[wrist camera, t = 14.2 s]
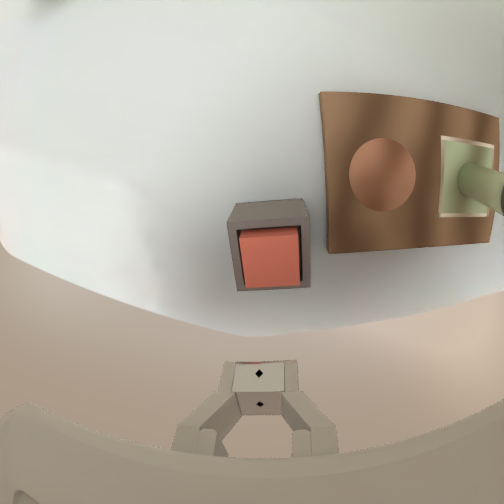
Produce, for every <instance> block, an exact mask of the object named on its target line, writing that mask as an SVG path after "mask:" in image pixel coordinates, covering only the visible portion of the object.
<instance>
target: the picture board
mask: <svg viewBox="0 0 504 504" xmlns="http://www.w3.org/2000/svg"><path fill="white" fill-rule="evenodd" d="M319 100H320V109H321V120H322V131H323V144H324V160H325V179H326V211H327V250H328V253H329V254H336V253H351V252H366V251H380V250H394V249H408V248H422V247H435V246H449V245H462V244H475V243H487V242H489V240H490V235H491V230H492V224H493V218H494V212H495V211H494V210H492V209H491V208H489V207H487V206H485V205H483V204H481V203H479V202H477V201H475V200H473V199H471V198H469V197H467V196H465V195H463V194H462V193H461V192H460V190H459V187H458V182H457V178H458V173H459V170H460V168H461V167H462V166H463V165H464V164H465V163H473V164H477V165H480V166H483V167H487V168H490V169H493V170H496V171H499V118H497V117H494V116H491V115H488V114H484V113H481V112H477V111H474V110H470V109H466V108H462V107H458V106H453V105H449V104H444V103H439V102H434V101H428V100H422V99H416V98H409V97H402V96H394V95H384V94H372V93H357V92H320V93H319Z"/></svg>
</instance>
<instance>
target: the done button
mask: <svg viewBox="0 0 504 504" xmlns="http://www.w3.org/2000/svg"><path fill="white" fill-rule="evenodd" d="M239 242H240V249H241V256H242V264H243V271H244V278H245V285H246V288H259V287H278V286H294V285H300V273H299V245H298V232H297V227H296V226H295V227H280V228H265V229H251V230H242V231H241V234H240V237H239Z"/></svg>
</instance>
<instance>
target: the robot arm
mask: <svg viewBox="0 0 504 504" xmlns="http://www.w3.org/2000/svg"><path fill="white" fill-rule="evenodd" d="M284 365H285V366H284ZM242 415H282V416H283V418H284V419H285V421H286V422H287V423H288V425H289V426H290V428H291V429H292V430H293V433H292V453H291V458H236V457H228V453H227V451H226V449H225V447H224V445H223V443H222V440H223V439H224V438H225V436H226V435H227V434H228V433H229V432H230V430H231V429H232V428H233V427H234V426H235V424H236V423H237V422H238V421H239V419H240V418H241V417H242ZM0 504H504V399H502V400H501V401H499V402H497V403H495V404H493V405H491V406H490V407H487V408H485V409H484V410H481V411H479V412H477V413H475V414H473V415H471V416H469V417H466V418H464V419H462V420H459V421H457V422H454V423H452V424H449V425H447V426H444V427H442V428H439V429H436V430H433V431H430V432H427V433H424V434H421V435H418V436H415V437H412V438H408V439H405V440H401V441H398V442H393V443H390V444H385V445H382V446H377V447H372V448H367V449H362V450H356V451H350V452H344V453H339V448H338V440H337V431H336V426H335V424H334V423H333V422H332V421H331V420H330V419H329V418H328V417H327V416H326V415H325V414H324V413H323V412H322V411H321V410H320V409H319V408H318V407H317V406H316V405H315V404H314V402H312V401H311V399H310V398H309V397H308V396H307V395H306V394H305V393H304V392H303V391H299V382H298V366H297V360H285V361H264V362H225V363H224V365H223V369H222V374H221V379H220V384H219V389H218V392H214V393H212V394H211V395H210V396H209V397H208V398H207V399H206V400H205V401H204V402H203V403H202V404H201V405H199V406H198V407H197V408H196V409H195V410H194V411H193V412H192V413H190V414H189V415H188V416H187V417H186V418H185V419H184V420H182V421H181V422H180V423H179V424H178V425H177V429H176V433H175V436H174V439H173V443H172V446H171V450H169V449H164V448H159V447H154V446H149V445H145V444H141V443H137V442H133V441H129V440H125V439H122V438H118V437H115V436H112V435H108V434H105V433H102V432H99V431H96V430H93V429H90V428H87V427H85V426H82V425H80V424H77V423H75V422H72V421H70V420H67V419H65V418H62V417H60V416H58V415H56V414H53V413H51V412H49V411H47V410H45V409H43V408H41V407H39V406H37V405H35V404H33V403H30V402H27V403H24V404H22V405H20V406H18V407H16V408H14V409H12V410H10V411H9V412H7V413H6V414H5V415H4V416H3V417H2V418H1V419H0Z"/></svg>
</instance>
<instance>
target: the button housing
mask: <svg viewBox="0 0 504 504" xmlns="http://www.w3.org/2000/svg"><path fill="white" fill-rule="evenodd" d="M295 226H296V227H297V232H298V245H299V273H300V285H294V286H278V287H259V288H246V285H245V278H244V271H243V264H242V256H241V249H240V242H239V237H240V234H241V231H242V230H251V229H265V228H280V227H295ZM227 228H228V235H229V241H230V248H231V254H232V260H233V267H234V273H235V279H236V285H237V291H253V290H273V289H290V288H306V287H310V225H309V215H308V212H307V209H306V207H305V204H304V201H303V199H287V200H273V201H260V202H248V203H236V205H235V207H234V209H233V211H232V213H231V215H230V217H229V219H228V221H227Z"/></svg>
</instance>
